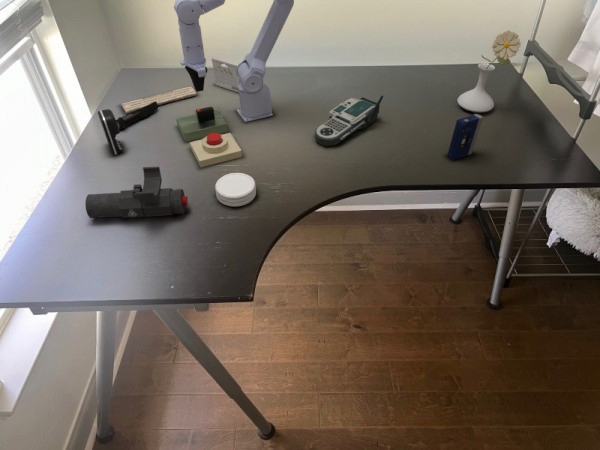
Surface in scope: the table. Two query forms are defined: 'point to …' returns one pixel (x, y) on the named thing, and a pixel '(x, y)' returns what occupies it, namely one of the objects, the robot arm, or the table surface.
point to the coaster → (235, 189)
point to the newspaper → (159, 99)
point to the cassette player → (464, 136)
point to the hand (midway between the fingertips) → (199, 90)
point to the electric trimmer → (136, 115)
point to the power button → (214, 139)
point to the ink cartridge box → (226, 75)
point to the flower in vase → (478, 97)
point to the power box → (215, 151)
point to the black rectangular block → (205, 114)
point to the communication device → (347, 120)
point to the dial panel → (201, 126)
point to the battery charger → (110, 130)
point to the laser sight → (139, 199)
